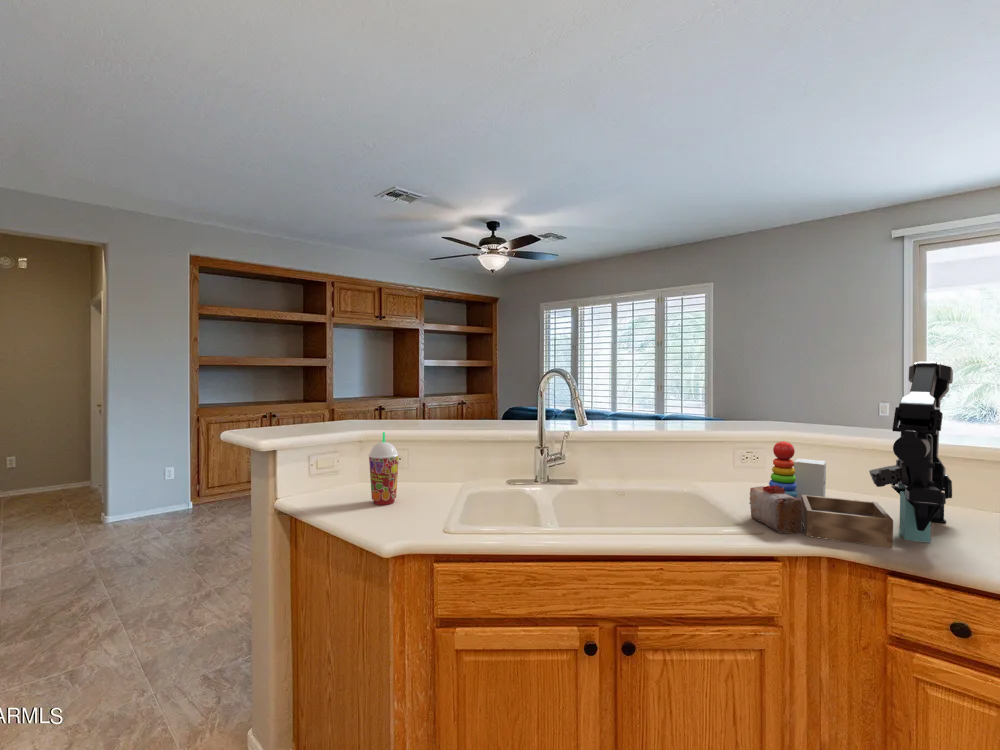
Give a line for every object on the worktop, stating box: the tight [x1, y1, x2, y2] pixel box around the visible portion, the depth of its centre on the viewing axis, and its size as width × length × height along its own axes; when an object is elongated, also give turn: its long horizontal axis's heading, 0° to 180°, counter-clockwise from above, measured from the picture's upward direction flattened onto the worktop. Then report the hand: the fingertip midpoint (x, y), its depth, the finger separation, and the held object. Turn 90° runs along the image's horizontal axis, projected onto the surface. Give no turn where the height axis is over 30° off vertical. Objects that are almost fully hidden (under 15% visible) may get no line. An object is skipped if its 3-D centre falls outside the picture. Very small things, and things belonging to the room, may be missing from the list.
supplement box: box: [793, 458, 827, 500], centre depth 144 cm, size 7×7×13 cm
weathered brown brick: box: [748, 485, 803, 534], centre depth 127 cm, size 14×8×10 cm, turn 3°
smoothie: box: [368, 431, 400, 506], centre depth 146 cm, size 8×8×20 cm
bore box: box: [801, 495, 894, 549], centre depth 122 cm, size 16×16×6 cm
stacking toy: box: [768, 440, 798, 499], centre depth 140 cm, size 8×8×19 cm
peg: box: [898, 491, 932, 544], centre depth 117 cm, size 5×5×10 cm
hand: (914, 524), depth 118 cm, fingers open, 9 cm apart
